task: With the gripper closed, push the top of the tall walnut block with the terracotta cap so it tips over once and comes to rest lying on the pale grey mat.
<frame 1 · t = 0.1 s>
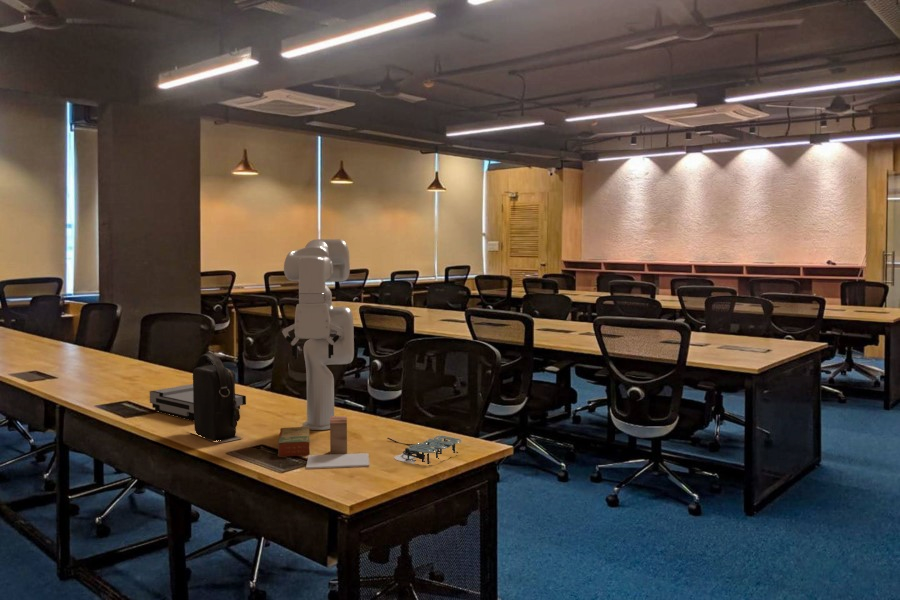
hand: (313, 358, 209), 31 cm above the table, tool pointing down, fingers open, 9 cm apart
shoulder bag: (213, 436, 243), on the table
grey mat: (338, 461, 213), on the table
game console: (197, 413, 278), on the table
carton: (294, 449, 228), on the table
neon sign: (412, 453, 224), on the table
walnut block: (338, 453, 222), on the table
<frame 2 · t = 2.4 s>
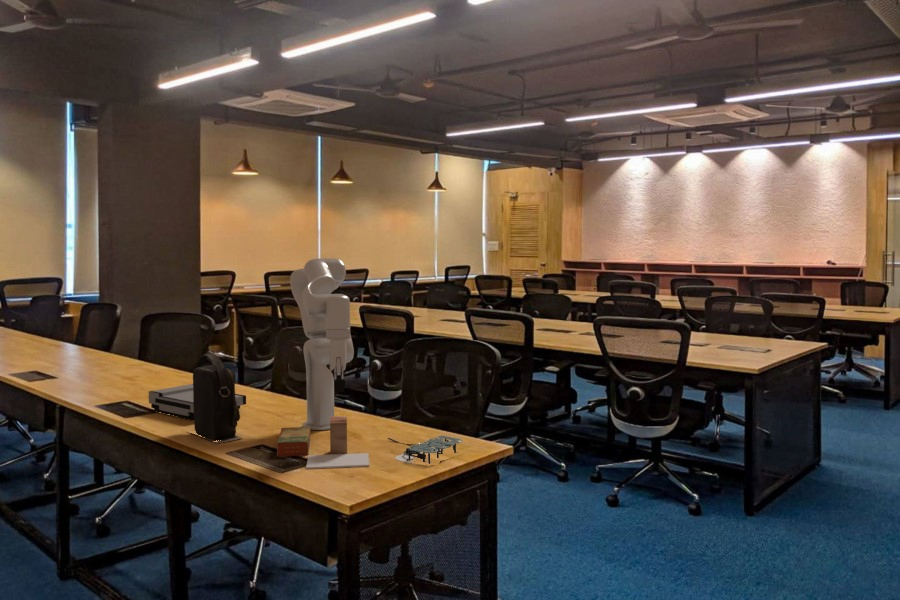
hand: (339, 391, 229), 18 cm above the table, tool pointing down, fingers closed
nothing on the table moved.
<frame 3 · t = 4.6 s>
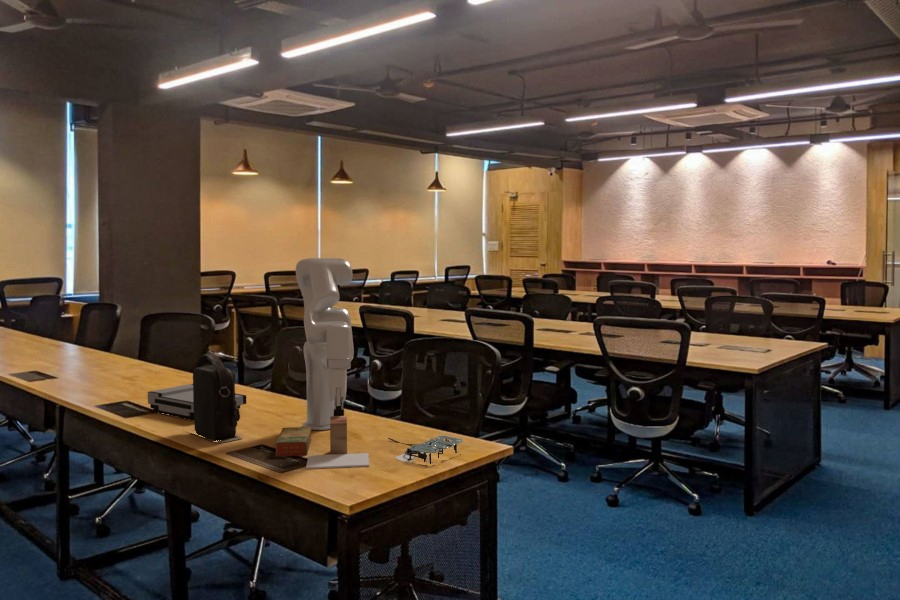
hand: (339, 421, 225), 9 cm above the table, tool pointing down, fingers closed
walnut block: (338, 453, 222), on the table, touching gripper
everything else where it was.
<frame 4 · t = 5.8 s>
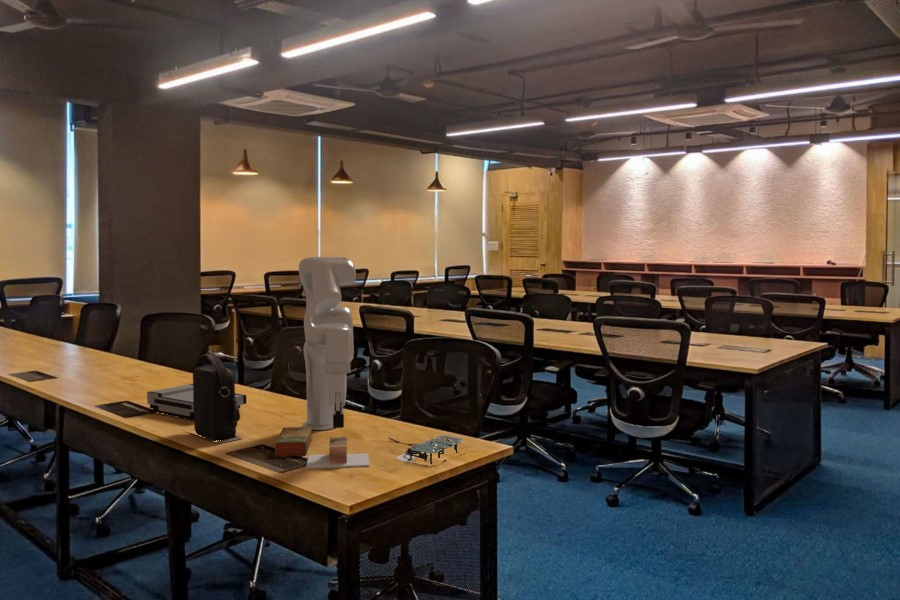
hand: (338, 427, 218), 9 cm above the table, tool pointing down, fingers closed
walnut block: (338, 444, 220), point 3 cm above the table, tilted 90°, touching grey mat
everything else where it was.
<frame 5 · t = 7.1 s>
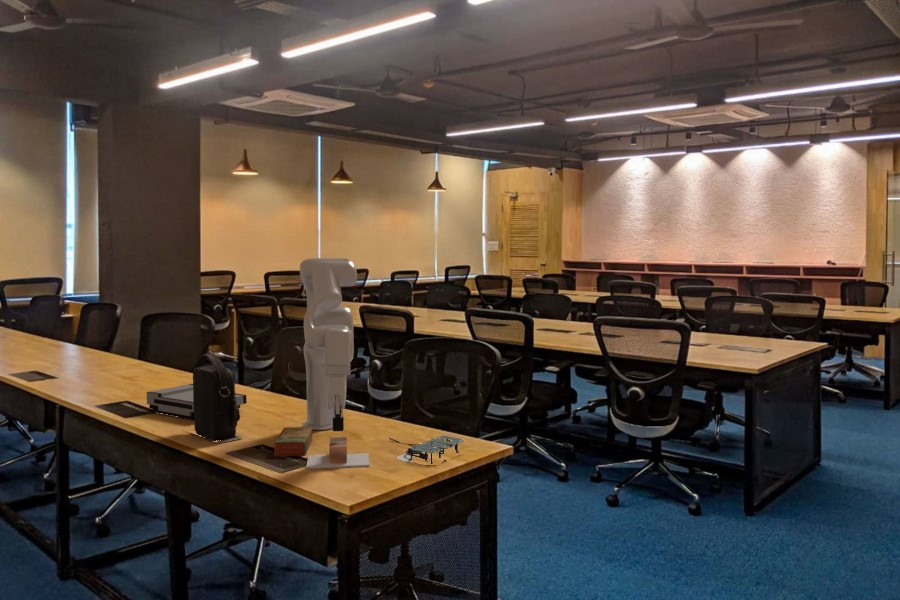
hand: (338, 430, 215), 9 cm above the table, tool pointing down, fingers closed
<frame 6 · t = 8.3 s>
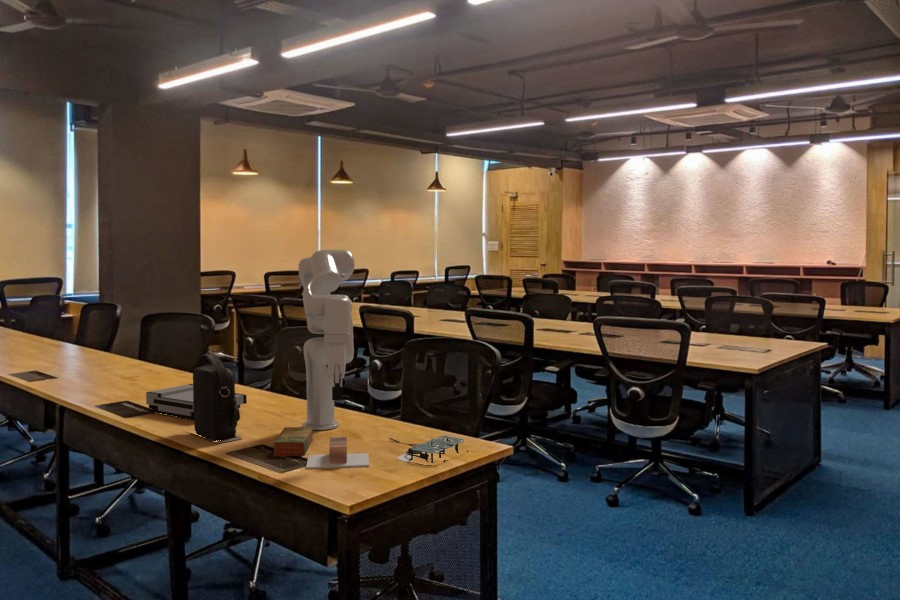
hand: (337, 399, 215), 18 cm above the table, tool pointing down, fingers closed
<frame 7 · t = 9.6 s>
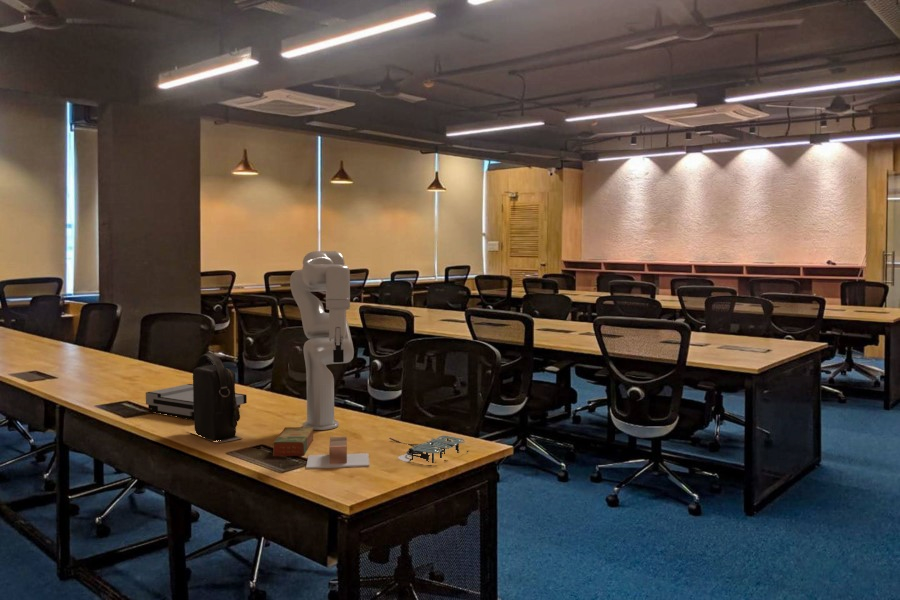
hand: (338, 361, 229), 27 cm above the table, tool pointing down, fingers closed
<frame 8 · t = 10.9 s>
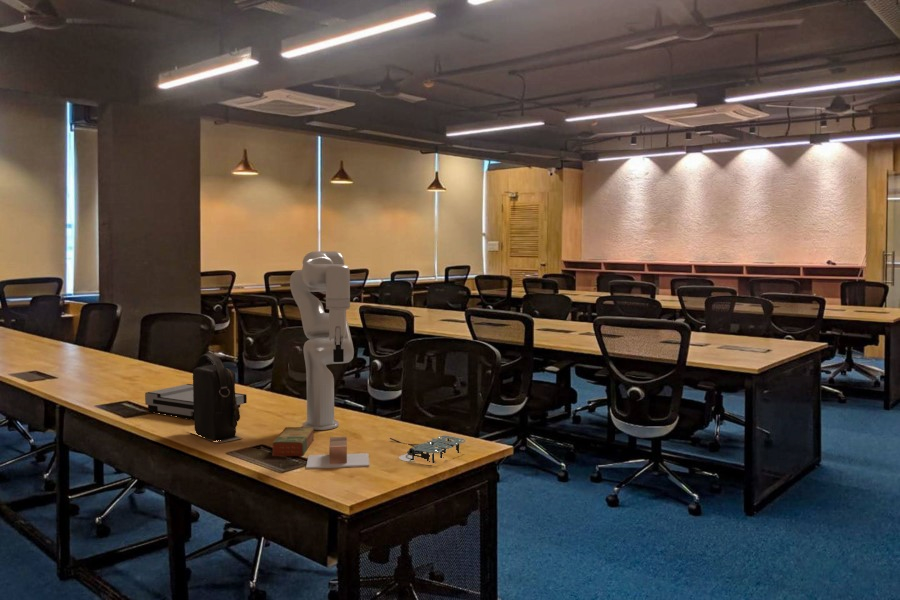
hand: (338, 361, 229), 27 cm above the table, tool pointing down, fingers closed
at the end: walnut block tilted 90°; walnut block touching grey mat; walnut block inside the target area (3.8 cm from its centre), point 3.0 cm above the table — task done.
